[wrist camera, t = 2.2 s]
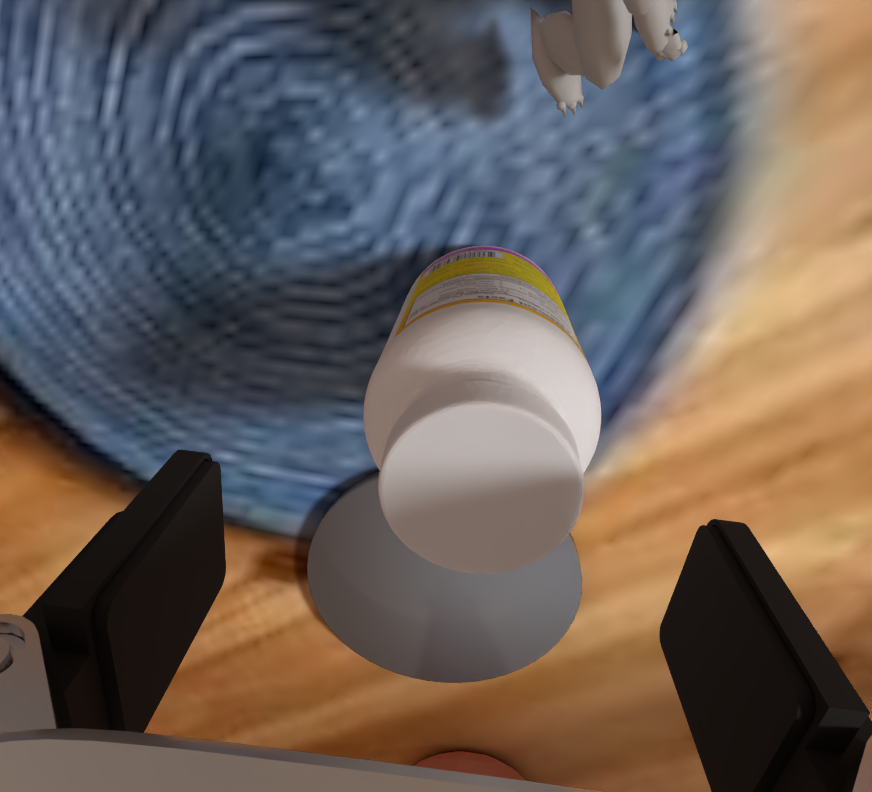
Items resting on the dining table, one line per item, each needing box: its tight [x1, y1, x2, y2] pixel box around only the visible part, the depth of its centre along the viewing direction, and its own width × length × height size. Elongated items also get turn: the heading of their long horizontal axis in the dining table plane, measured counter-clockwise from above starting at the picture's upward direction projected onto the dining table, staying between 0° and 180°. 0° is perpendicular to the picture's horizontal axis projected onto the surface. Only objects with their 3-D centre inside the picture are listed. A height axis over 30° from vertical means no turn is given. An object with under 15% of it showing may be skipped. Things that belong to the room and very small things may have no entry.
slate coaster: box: [307, 471, 582, 683], centre depth 31 cm, size 14×14×1 cm
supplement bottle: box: [364, 245, 601, 574], centre depth 19 cm, size 7×7×13 cm
